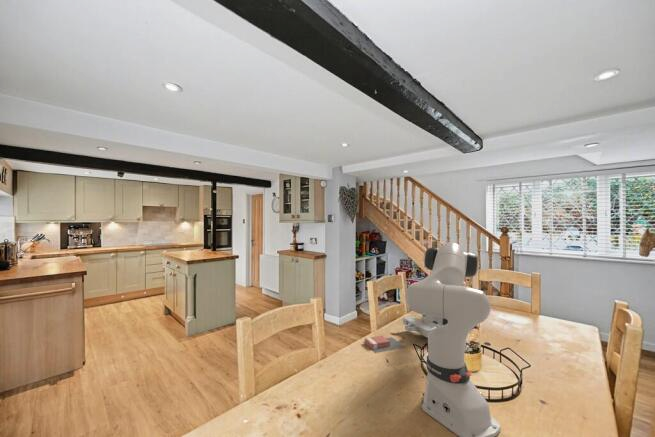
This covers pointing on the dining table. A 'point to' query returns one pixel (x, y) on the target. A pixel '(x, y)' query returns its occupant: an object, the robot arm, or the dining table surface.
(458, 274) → the robot arm
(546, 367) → the dining table surface
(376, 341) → the card box
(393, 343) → the mat
